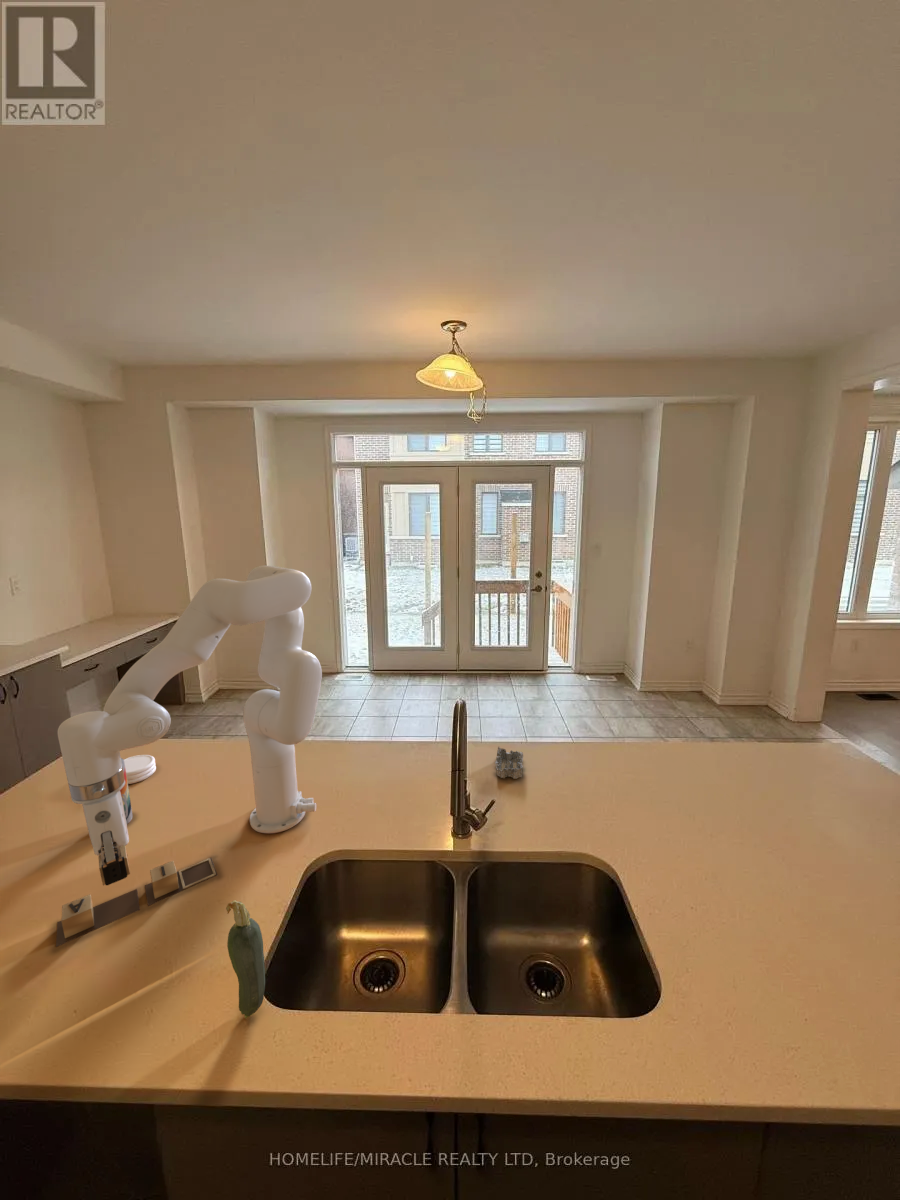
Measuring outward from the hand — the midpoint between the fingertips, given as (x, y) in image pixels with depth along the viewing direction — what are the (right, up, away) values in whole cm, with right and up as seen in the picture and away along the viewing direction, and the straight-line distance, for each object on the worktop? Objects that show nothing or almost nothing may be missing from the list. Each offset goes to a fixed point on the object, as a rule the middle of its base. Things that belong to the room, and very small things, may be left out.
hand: (115, 871), depth 84 cm
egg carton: (+78, +1, +47) cm, 91 cm away
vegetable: (+32, -11, -17) cm, 38 cm away
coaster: (-26, +1, +44) cm, 51 cm away
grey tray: (+8, -6, +7) cm, 12 cm away
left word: (-3, -8, -1) cm, 8 cm away
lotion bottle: (-17, -3, +25) cm, 30 cm away
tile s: (0, 0, 0) cm, 0 cm away
